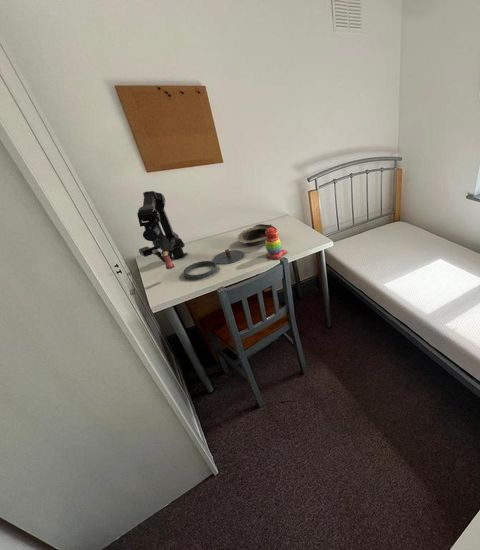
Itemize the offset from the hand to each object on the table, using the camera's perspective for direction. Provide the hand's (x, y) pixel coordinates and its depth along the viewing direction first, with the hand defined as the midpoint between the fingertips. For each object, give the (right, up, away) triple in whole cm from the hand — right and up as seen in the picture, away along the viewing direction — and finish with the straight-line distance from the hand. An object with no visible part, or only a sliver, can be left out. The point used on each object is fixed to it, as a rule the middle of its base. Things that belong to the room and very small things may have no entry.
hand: (167, 260), depth 153 cm
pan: (+12, -6, +11) cm, 17 cm away
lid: (+21, +3, +25) cm, 32 cm away
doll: (0, -3, +2) cm, 4 cm away
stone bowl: (+32, +14, +44) cm, 56 cm away
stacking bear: (+49, +5, +28) cm, 56 cm away
